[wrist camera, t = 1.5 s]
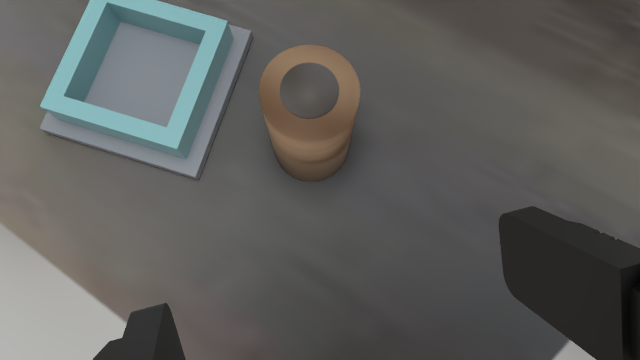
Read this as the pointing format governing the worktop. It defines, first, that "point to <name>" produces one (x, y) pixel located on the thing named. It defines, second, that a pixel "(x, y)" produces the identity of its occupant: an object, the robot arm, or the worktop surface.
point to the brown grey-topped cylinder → (310, 109)
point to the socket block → (146, 82)
